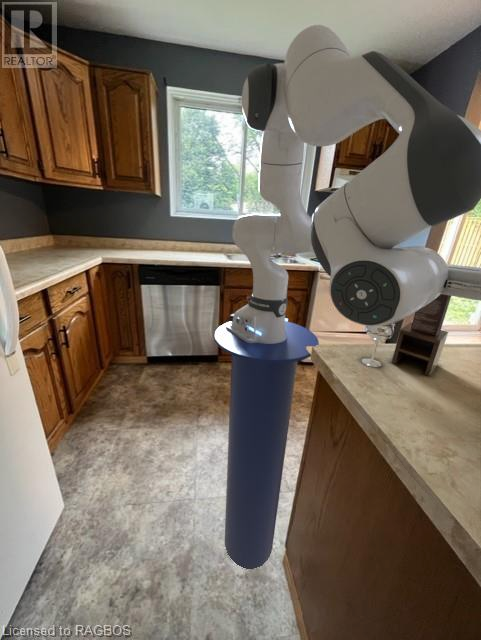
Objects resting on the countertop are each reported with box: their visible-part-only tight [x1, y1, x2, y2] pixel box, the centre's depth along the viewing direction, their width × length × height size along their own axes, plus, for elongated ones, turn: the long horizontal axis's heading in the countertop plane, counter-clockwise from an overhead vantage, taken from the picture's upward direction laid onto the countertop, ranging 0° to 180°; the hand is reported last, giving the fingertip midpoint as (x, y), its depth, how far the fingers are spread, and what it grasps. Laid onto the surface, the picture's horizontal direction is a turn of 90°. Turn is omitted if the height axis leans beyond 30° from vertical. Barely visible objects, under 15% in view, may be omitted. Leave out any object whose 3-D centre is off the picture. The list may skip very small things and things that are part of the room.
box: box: [411, 294, 452, 336], centre depth 69 cm, size 6×4×12 cm
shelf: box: [390, 321, 449, 377], centre depth 73 cm, size 9×9×10 cm
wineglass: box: [361, 322, 397, 368], centre depth 72 cm, size 7×7×12 cm
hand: (432, 269), depth 48 cm, fingers open, 8 cm apart
